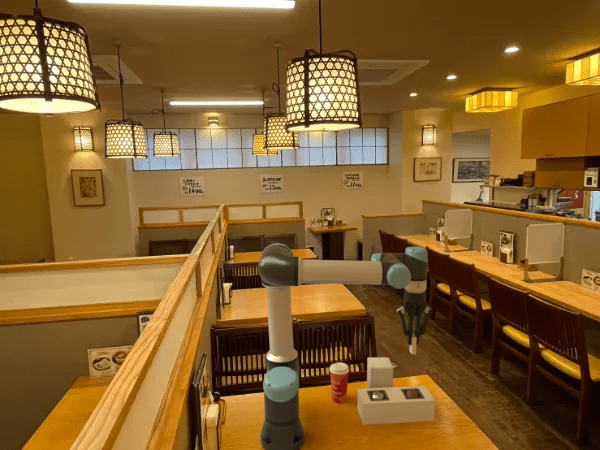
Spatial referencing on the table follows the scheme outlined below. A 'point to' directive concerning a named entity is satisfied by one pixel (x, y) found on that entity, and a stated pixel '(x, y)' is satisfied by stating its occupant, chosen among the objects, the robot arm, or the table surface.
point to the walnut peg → (412, 394)
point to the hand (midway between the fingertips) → (412, 352)
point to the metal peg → (377, 395)
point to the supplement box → (379, 372)
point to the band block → (395, 405)
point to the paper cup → (339, 382)
